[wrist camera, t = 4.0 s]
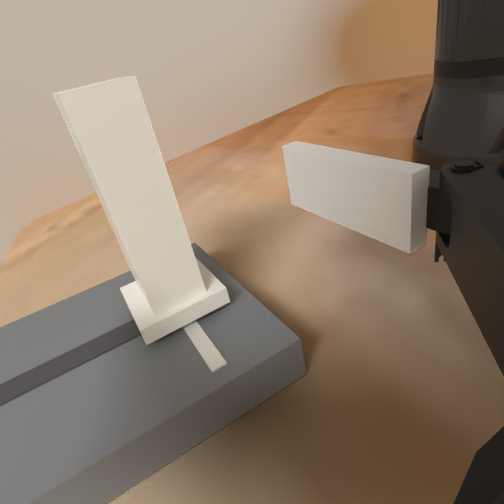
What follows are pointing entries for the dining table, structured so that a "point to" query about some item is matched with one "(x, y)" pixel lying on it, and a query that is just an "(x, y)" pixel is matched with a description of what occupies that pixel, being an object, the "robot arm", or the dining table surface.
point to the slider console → (127, 389)
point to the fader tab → (139, 206)
